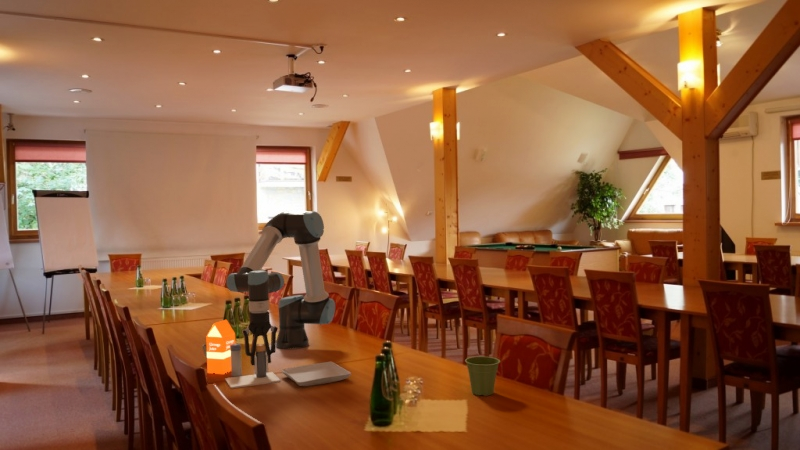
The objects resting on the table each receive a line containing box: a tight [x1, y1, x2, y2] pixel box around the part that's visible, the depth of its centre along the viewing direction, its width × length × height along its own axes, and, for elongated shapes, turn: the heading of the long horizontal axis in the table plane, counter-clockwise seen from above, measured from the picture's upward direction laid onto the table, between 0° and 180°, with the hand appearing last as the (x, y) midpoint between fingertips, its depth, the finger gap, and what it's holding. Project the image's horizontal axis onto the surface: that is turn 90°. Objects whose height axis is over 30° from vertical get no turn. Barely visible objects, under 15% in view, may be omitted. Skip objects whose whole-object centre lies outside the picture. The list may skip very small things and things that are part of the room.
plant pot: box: [464, 355, 501, 397], centre depth 213 cm, size 12×12×11 cm
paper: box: [224, 371, 281, 390], centre depth 235 cm, size 18×13×1 cm
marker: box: [255, 343, 267, 378], centre depth 239 cm, size 4×4×12 cm
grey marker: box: [230, 343, 243, 377], centre depth 243 cm, size 4×4×12 cm
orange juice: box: [205, 319, 236, 375], centre depth 251 cm, size 8×9×20 cm
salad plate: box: [280, 361, 352, 387], centre depth 236 cm, size 21×21×3 cm
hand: (261, 372), depth 239 cm, fingers closed on marker, 3 cm apart
